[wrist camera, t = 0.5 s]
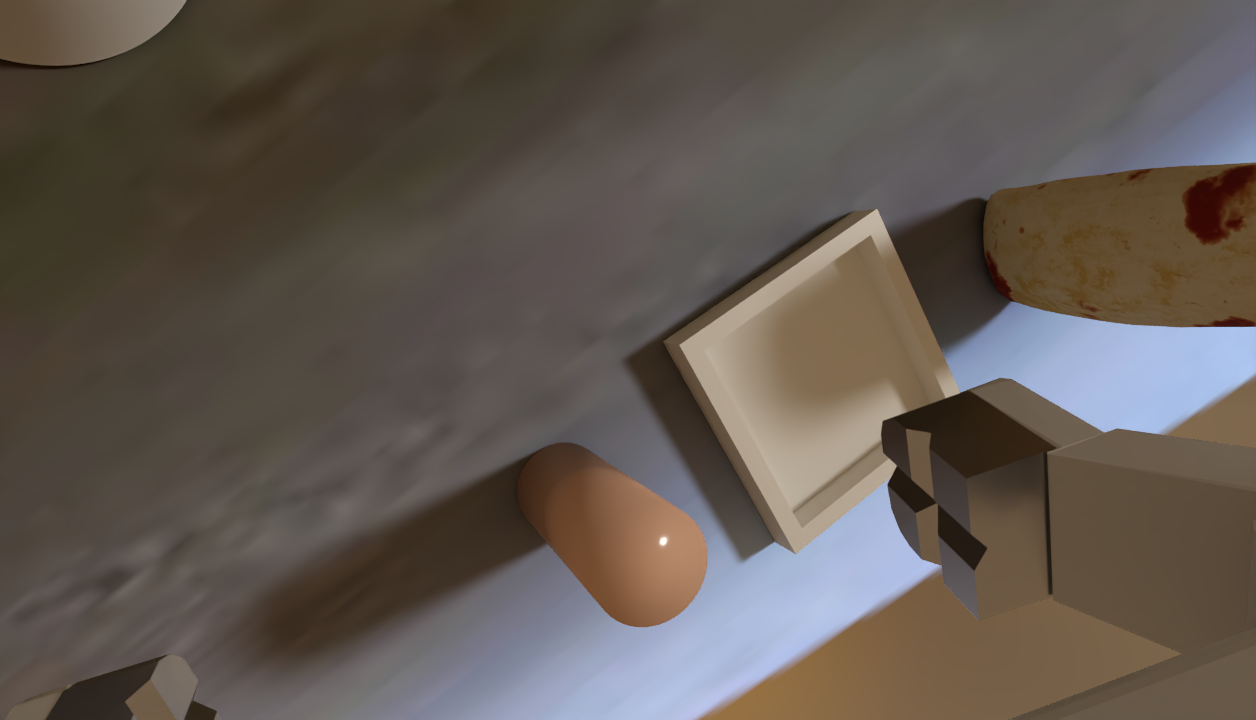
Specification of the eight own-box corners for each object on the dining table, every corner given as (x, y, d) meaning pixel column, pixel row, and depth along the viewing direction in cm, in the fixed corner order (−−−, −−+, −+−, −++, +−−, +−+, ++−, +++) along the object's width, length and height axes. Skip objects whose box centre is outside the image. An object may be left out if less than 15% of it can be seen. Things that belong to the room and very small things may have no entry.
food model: (949, 208, 57) (1256, 176, 38) (1018, 170, 59) (1342, 122, 40) (990, 332, 59) (1297, 360, 41) (1054, 292, 61) (1377, 301, 43)
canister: (499, 478, 47) (568, 555, 34) (576, 424, 49) (671, 480, 36) (547, 550, 49) (631, 651, 36) (621, 497, 50) (727, 575, 37)
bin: (662, 341, 50) (679, 345, 48) (852, 211, 54) (876, 208, 52) (775, 542, 54) (795, 554, 52) (943, 408, 58) (969, 413, 56)
